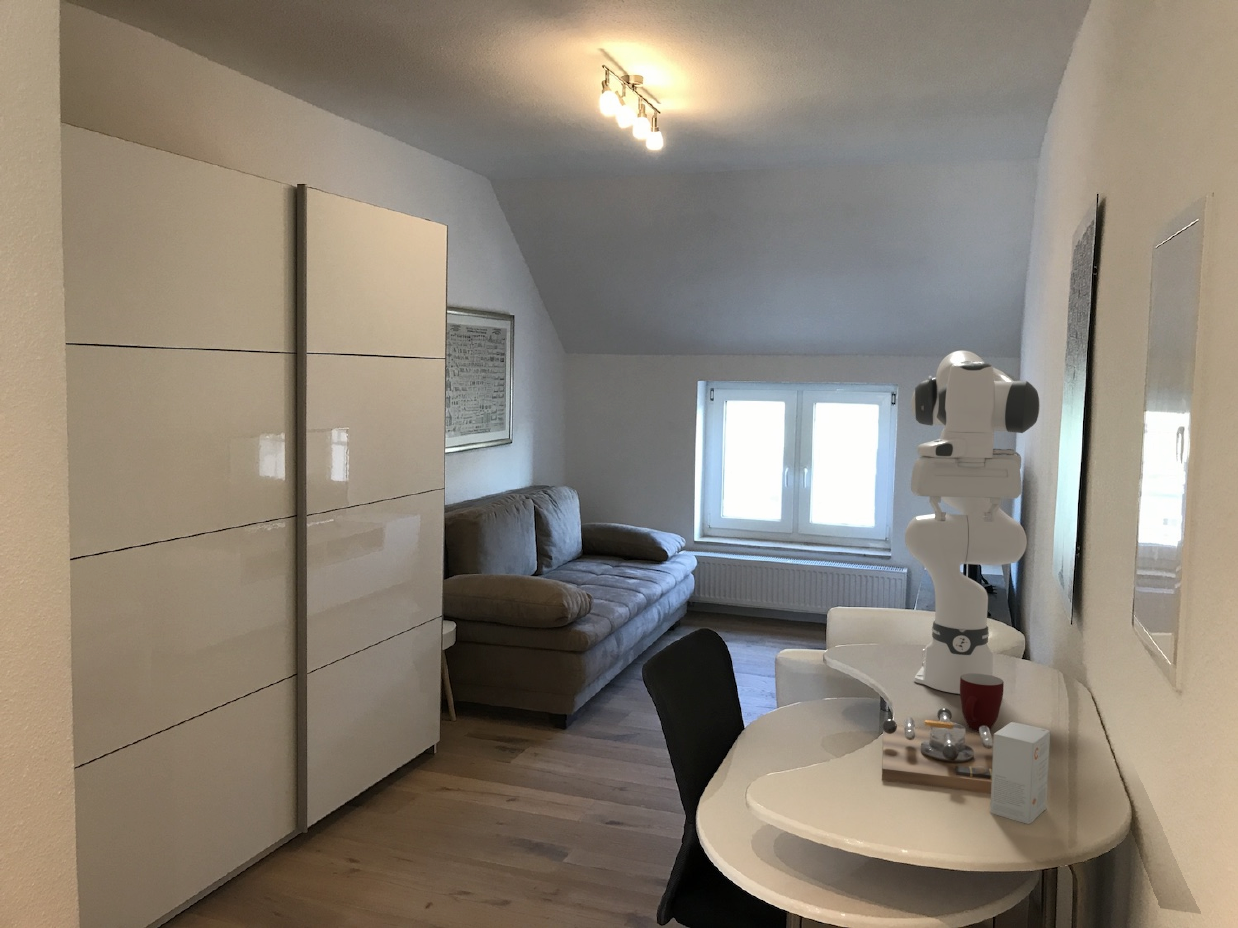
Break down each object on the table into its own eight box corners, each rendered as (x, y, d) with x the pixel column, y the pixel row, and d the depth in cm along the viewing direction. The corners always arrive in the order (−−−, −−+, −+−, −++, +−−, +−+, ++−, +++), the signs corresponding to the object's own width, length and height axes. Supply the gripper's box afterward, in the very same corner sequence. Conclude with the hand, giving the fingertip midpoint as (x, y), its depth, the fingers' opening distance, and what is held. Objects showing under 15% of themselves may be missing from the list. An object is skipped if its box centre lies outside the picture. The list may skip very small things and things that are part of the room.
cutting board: (883, 733, 192) (883, 715, 192) (1003, 746, 186) (1004, 728, 186) (881, 779, 169) (882, 759, 169) (1019, 796, 163) (1021, 776, 163)
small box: (1006, 797, 163) (1011, 720, 162) (1047, 809, 159) (1051, 729, 158) (988, 813, 157) (992, 732, 156) (1029, 825, 153) (1034, 742, 152)
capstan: (881, 723, 191) (883, 697, 191) (1006, 736, 185) (1008, 710, 185) (880, 765, 170) (882, 737, 169) (1022, 782, 164) (1023, 752, 163)
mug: (993, 742, 188) (996, 691, 188) (950, 733, 193) (952, 683, 192) (1004, 727, 197) (1007, 677, 197) (963, 718, 202) (965, 670, 201)
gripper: (1013, 448, 189) (1010, 520, 190) (909, 445, 188) (906, 518, 188) (1029, 450, 183) (1026, 524, 184) (921, 447, 181) (918, 522, 182)
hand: (964, 521), depth 186 cm, fingers open, 8 cm apart
